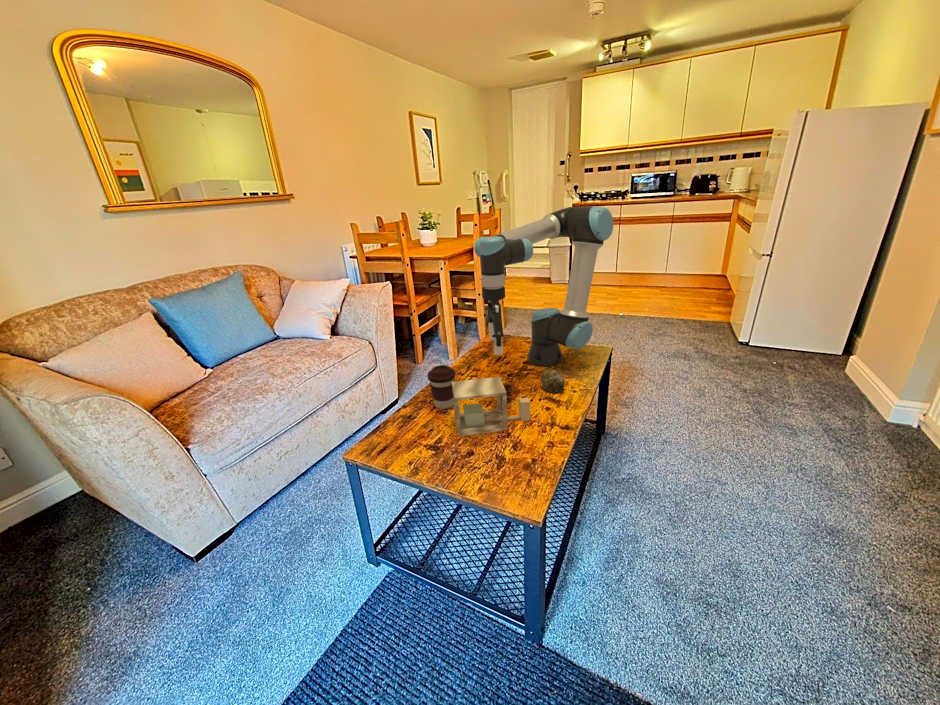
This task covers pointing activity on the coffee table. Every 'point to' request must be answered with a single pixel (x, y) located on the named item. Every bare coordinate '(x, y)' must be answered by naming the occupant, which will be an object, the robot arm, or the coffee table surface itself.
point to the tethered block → (476, 418)
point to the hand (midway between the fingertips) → (495, 346)
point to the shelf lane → (486, 416)
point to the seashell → (552, 381)
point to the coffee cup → (442, 385)
